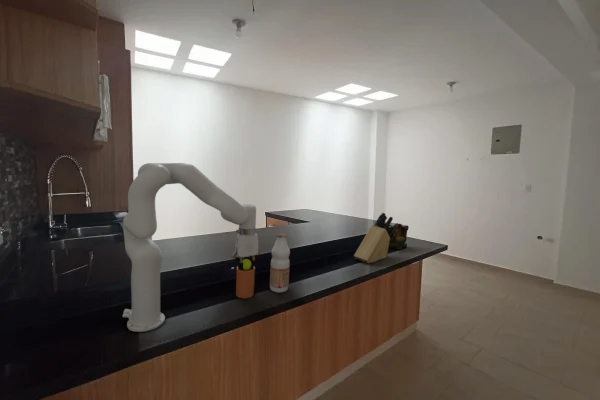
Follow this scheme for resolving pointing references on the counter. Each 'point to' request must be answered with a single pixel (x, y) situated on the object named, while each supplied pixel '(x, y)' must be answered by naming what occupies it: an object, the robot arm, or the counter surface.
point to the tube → (245, 283)
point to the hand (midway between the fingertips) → (245, 268)
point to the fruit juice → (280, 265)
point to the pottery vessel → (398, 236)
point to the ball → (246, 264)
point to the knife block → (376, 241)
